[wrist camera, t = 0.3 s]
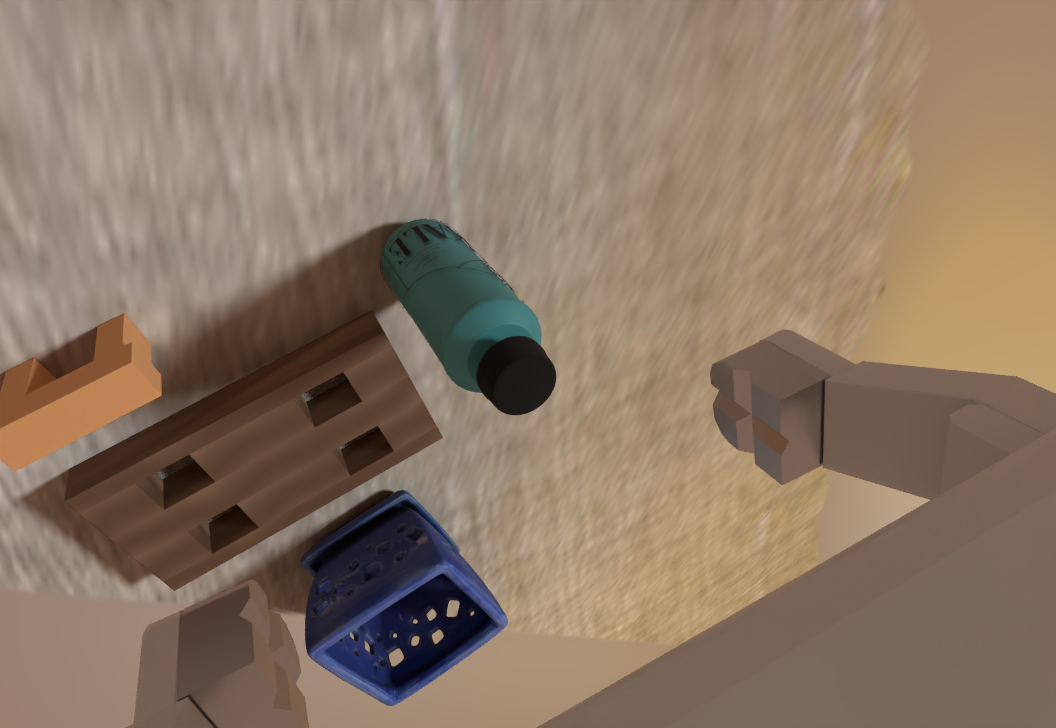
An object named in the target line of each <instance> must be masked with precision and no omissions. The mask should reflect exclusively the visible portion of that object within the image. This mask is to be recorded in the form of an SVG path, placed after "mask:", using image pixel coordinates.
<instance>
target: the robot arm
mask: <svg viewBox="0 0 1056 728" xmlns="http://www.w3.org/2000/svg"><path fill="white" fill-rule="evenodd" d="M710 376H711V384H712V385H713V386H714V387H716V388H717V389H718V390H719V392H718V394H717V396H716V398H715V401H714V403H713V409H714V416H715V420H716V423H717V425H718V427H719V429H720V431H721V433H722V434H723V436H724V437H725V438H726V439H727V441H728V442H729V443H730V444H732V445H733V446H734V447H735V448H736V449H737V450H740V451H745V452H750V453H754V457H755V464H756V465H757V466H759V467H760V468H761V469H762V470H764V471H765V472H766V473H767V474H769V475H770V476H771V477H772V478H774V479H775V480H776V481H777V482H779V483H780V484H781V485H784V484H786V483H788V482H790V481H792V480H794V479H796V478H798V477H800V476H802V475H804V474H806V473H808V472H810V471H812V470H814V469H816V468H818V467H820V466H822V465H823V468H826V469H830V470H833V471H836V472H840V473H843V474H846V475H850V476H853V477H856V478H860V479H863V480H866V481H870V482H873V483H876V484H880V485H883V486H887V487H890V488H893V489H897V490H900V491H903V492H906V493H910V494H913V495H916V496H920V497H923V498H926V499H930V501H928V502H927V503H925V504H923V505H922V506H920V507H918V508H916V509H915V510H913V511H911V512H910V513H908V514H906V515H904V516H902V517H901V518H899V519H897V520H896V521H894V522H892V523H890V524H888V525H887V526H885V527H883V528H882V529H880V530H878V531H876V532H875V533H873V534H871V535H870V536H868V537H866V538H864V539H863V540H861V541H859V542H857V543H856V544H854V545H852V546H851V547H849V548H847V549H845V550H843V551H842V552H840V553H839V554H837V555H835V556H833V557H831V558H830V559H828V560H826V561H824V562H823V563H821V564H819V565H817V566H816V567H814V568H812V569H811V570H809V571H807V572H805V573H804V574H802V575H800V576H798V577H797V578H795V579H793V580H792V581H790V582H788V583H786V584H785V585H783V586H781V587H779V588H778V589H776V590H774V591H773V592H771V593H769V594H767V595H766V596H764V597H762V598H760V599H759V600H757V601H755V602H753V603H752V604H750V605H748V606H747V607H745V608H743V609H741V610H740V611H738V612H736V613H734V614H733V615H731V616H729V617H728V618H726V619H724V620H722V621H721V622H719V623H717V624H715V625H714V626H712V627H710V628H708V629H707V630H705V631H703V632H702V633H700V634H698V635H696V636H695V637H693V638H691V639H689V640H688V641H686V642H684V643H682V644H681V645H679V646H677V647H676V648H674V649H672V650H671V651H669V652H667V653H665V654H663V655H662V656H660V657H658V658H656V659H655V660H653V661H651V662H650V663H648V664H646V665H644V666H643V667H641V668H639V669H637V670H636V671H634V672H632V673H631V674H629V675H627V676H625V677H624V678H622V679H620V680H618V681H617V682H615V683H613V684H611V685H610V686H608V687H606V688H604V689H603V690H601V691H599V692H598V693H596V694H594V695H592V696H591V697H589V698H587V699H585V700H584V701H582V702H580V703H579V704H577V705H575V706H573V707H572V708H570V709H568V710H566V711H565V712H563V713H561V714H560V715H558V716H556V717H554V718H552V719H551V720H549V721H547V722H545V723H544V724H542V725H540V726H539V727H537V728H1056V394H1055V393H1053V392H1050V391H1048V390H1046V389H1044V388H1042V387H1039V386H1037V385H1035V384H1032V383H1030V382H1028V381H1026V380H1023V379H1021V378H1019V377H1016V376H1005V375H996V374H986V373H976V372H966V371H956V370H945V369H936V368H925V367H916V366H906V365H895V364H885V363H875V362H866V361H862V362H860V363H858V364H854V363H852V362H850V361H848V360H846V359H844V358H843V357H841V356H839V355H837V354H835V353H833V352H831V351H829V350H827V349H825V348H824V347H822V346H820V345H818V344H816V343H814V342H812V341H810V340H808V339H806V338H804V337H803V336H801V335H799V334H797V333H795V332H793V331H791V330H781V331H779V332H777V333H775V334H773V335H771V336H769V337H766V338H764V339H762V340H760V341H759V342H758V343H756V344H754V345H751V346H749V347H747V348H745V349H743V350H741V351H739V352H737V353H735V354H732V355H730V356H728V357H726V358H724V359H722V360H720V361H718V362H716V363H714V364H713V365H712V368H711V371H710ZM300 673H301V669H300V664H299V657H298V654H297V651H296V647H295V644H294V641H293V638H292V636H291V634H290V632H289V630H288V628H287V626H286V624H285V622H284V621H283V620H282V618H281V616H280V614H278V613H274V612H270V611H268V603H267V595H266V593H265V592H264V591H263V589H262V588H261V587H260V585H259V584H258V582H257V581H255V580H252V579H250V580H248V581H246V582H244V583H241V584H239V585H237V586H234V587H232V588H230V589H228V590H225V591H223V592H221V593H219V594H216V595H214V596H212V597H210V598H207V599H205V600H203V601H201V602H198V603H196V604H194V605H191V606H189V607H187V608H185V609H184V610H182V611H179V612H177V613H175V614H172V615H170V616H168V617H166V618H164V619H161V620H159V621H157V622H155V623H152V624H150V625H149V626H148V627H147V628H146V630H145V632H144V633H143V637H142V647H141V656H140V666H139V676H138V687H137V695H136V705H135V715H134V724H132V725H130V726H128V727H126V728H309V723H308V716H307V709H306V702H305V697H304V696H303V694H302V693H301V691H300V690H299V688H298V687H297V685H296V682H297V680H298V678H299V676H300Z"/></svg>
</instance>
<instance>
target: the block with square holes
mask: <svg viewBox="0 0 1056 728" xmlns="http://www.w3.org/2000/svg"><path fill="white" fill-rule="evenodd" d="M342 372H344V374H345V375H346V377H347V378H348V380H347V381H345V382H343V383H341V384H339V385H338V386H336V387H334V388H332V389H330V390H328V391H327V392H325V393H323V394H321V395H319V396H317V397H315V398H314V399H312V400H310V401H308V402H306V401H305V400H304V399H303V397H302V396H301V394H303V393H305V392H307V391H309V390H311V389H313V388H314V387H316V386H318V385H320V384H322V383H324V382H326V381H327V380H329V379H331V378H333V377H335V376H337V375H339V374H340V373H342ZM376 426H378V427H379V428H380V429H378V430H376V431H374V432H373V433H371V434H369V435H367V436H365V437H364V438H362V439H360V440H358V441H356V442H355V443H353V444H351V445H349V446H347V447H346V448H344V449H342V450H340V448H339V447H340V446H342V445H344V444H346V443H347V442H349V441H351V440H353V439H355V438H356V437H358V436H360V435H362V434H364V433H365V432H367V431H369V430H371V429H372V428H374V427H376ZM442 438H443V437H442V435H441V433H440V432H439V430H438V428H437V426H436V424H435V423H434V421H433V419H432V417H431V415H430V414H429V412H428V410H427V408H426V406H425V405H424V403H423V401H422V399H421V397H420V396H419V394H418V392H417V390H416V388H415V387H414V385H413V383H412V381H411V379H410V378H409V376H408V374H407V372H406V370H405V369H404V367H403V365H402V363H401V361H400V360H399V358H398V356H397V354H396V352H395V351H394V349H393V347H392V345H391V343H390V342H389V340H388V338H387V336H386V334H385V333H384V331H383V329H382V327H381V326H380V324H379V322H378V320H377V319H376V317H375V315H374V314H373V312H372V311H370V312H369V313H367V314H365V315H363V316H361V317H359V318H357V319H355V320H353V321H351V322H349V323H348V324H346V325H344V326H342V327H340V328H338V329H336V330H334V331H332V332H330V333H328V334H327V335H325V336H323V337H321V338H319V339H317V340H315V341H313V342H311V343H309V344H307V345H306V346H304V347H302V348H300V349H298V350H296V351H294V352H292V353H290V354H288V355H286V356H285V357H283V358H281V359H279V360H277V361H275V362H273V363H271V364H269V365H267V366H265V367H264V368H262V369H260V370H258V371H256V372H254V373H252V374H250V375H248V376H246V377H244V378H242V379H241V380H239V381H237V382H235V383H233V384H231V385H229V386H227V387H225V388H223V389H221V390H220V391H218V392H216V393H214V394H212V395H210V396H208V397H206V398H204V399H202V400H200V401H199V402H197V403H195V404H193V405H191V406H189V407H187V408H185V409H183V410H181V411H179V412H178V413H176V414H174V415H172V416H170V417H168V418H166V419H164V420H162V421H160V422H158V423H157V424H155V425H153V426H151V427H149V428H147V429H145V430H143V431H141V432H139V433H137V434H136V435H134V436H132V437H130V438H128V439H126V440H124V441H122V442H120V443H118V444H116V445H115V446H113V447H111V448H109V449H107V450H105V451H103V452H101V453H99V454H97V455H95V456H94V457H92V458H90V459H88V460H86V461H84V462H82V463H80V464H78V465H76V466H74V467H72V468H71V469H69V472H68V479H67V487H66V494H65V501H64V502H65V503H67V504H68V505H69V506H70V507H72V508H73V509H74V510H75V511H77V512H78V513H79V514H80V515H81V516H83V517H84V518H85V519H86V520H88V521H89V522H90V523H91V524H93V525H94V526H95V527H96V528H97V529H99V530H100V531H101V532H102V533H104V534H105V535H106V536H107V537H109V538H110V539H111V540H112V541H114V542H115V543H116V544H117V545H118V546H120V547H121V548H122V549H123V550H125V551H126V552H127V553H128V554H130V555H131V556H132V557H133V558H134V559H136V560H137V561H138V562H139V563H141V564H142V565H143V566H144V567H146V568H147V569H148V570H149V571H151V572H152V573H153V574H154V575H155V576H157V577H158V578H159V579H160V580H162V581H163V582H164V583H165V584H167V585H168V586H169V587H170V588H171V589H173V590H174V591H175V590H177V589H179V588H180V587H182V586H184V585H186V584H187V583H189V582H191V581H193V580H194V579H196V578H198V577H200V576H201V575H203V574H205V573H207V572H208V571H210V570H212V569H214V568H215V567H217V566H219V565H221V564H223V563H224V562H226V561H228V560H230V559H231V558H233V557H235V556H237V555H238V554H240V553H242V552H244V551H245V550H247V549H249V548H251V547H252V546H254V545H256V544H258V543H259V542H261V541H263V540H265V539H266V538H268V537H270V536H272V535H273V534H275V533H277V532H279V531H280V530H282V529H284V528H286V527H287V526H289V525H291V524H293V523H294V522H296V521H298V520H300V519H301V518H303V517H305V516H307V515H308V514H310V513H312V512H314V511H315V510H317V509H319V508H321V507H322V506H324V505H326V504H328V503H329V502H331V501H333V500H335V499H336V498H338V497H340V496H342V495H343V494H345V493H347V492H349V491H350V490H352V489H354V488H356V487H357V486H359V485H361V484H363V483H364V482H366V481H368V480H370V479H371V478H373V477H375V476H377V475H378V474H380V473H382V472H384V471H385V470H387V469H389V468H391V467H393V466H394V465H396V464H398V463H400V462H401V461H403V460H405V459H407V458H408V457H410V456H412V455H414V454H415V453H417V452H419V451H421V450H422V449H424V448H426V447H428V446H429V445H431V444H433V443H435V442H436V441H438V440H440V439H442ZM188 455H190V456H191V457H192V458H193V459H194V460H195V461H196V462H195V463H193V464H191V465H189V466H187V467H186V468H184V469H182V470H180V471H178V472H176V473H174V474H173V475H171V476H169V477H167V478H165V479H162V478H161V477H160V476H158V475H157V474H156V472H158V471H160V470H162V469H163V468H165V467H167V466H169V465H171V464H173V463H175V462H176V461H178V460H180V459H182V458H184V457H186V456H188ZM236 504H237V505H238V506H239V507H238V508H236V509H234V510H233V511H231V512H229V513H227V514H226V515H224V516H222V517H220V518H218V519H217V520H215V521H213V522H211V523H209V524H208V523H207V522H206V521H207V520H209V519H211V518H213V517H214V516H216V515H218V514H220V513H222V512H223V511H225V510H227V509H229V508H231V507H232V506H234V505H236Z"/></svg>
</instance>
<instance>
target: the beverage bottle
mask: <svg viewBox="0 0 1056 728" xmlns="http://www.w3.org/2000/svg"><path fill="white" fill-rule="evenodd" d="M438 221H439V220H438ZM438 221H434V219H432V220H427V219H420V220H414V221H411V222H408V223H406V224H404V225H402V226H401V227H399V228H398V229H397V230H395V231H394V232H393V233H392V234H391V236H390V237H389V238H388V240H387V242H386V244H385V246H384V249H383V251H382V255H381V256H382V262H381V261H380V268H381V264H382V273H383V275H384V277H385V279H386V281H387V283H388V284H389V287H391V289H392V290H393V292H394V293H395V295H396V296H397V297H398V299H399V300H400V302H401V303H402V305H403V306H404V308H405V309H406V311H407V312H408V314H409V315H410V316H411V317H412V319H413V320H414V322H415V323H416V325H417V326H418V328H419V329H420V331H421V332H422V334H423V335H424V337H425V339H426V340H427V342H428V343H429V345H430V346H431V348H432V349H433V351H434V352H435V354H436V355H437V357H438V358H439V360H440V361H441V363H442V365H443V366H444V369H445V371H446V373H447V374H448V376H449V377H450V378H451V380H452V381H453V382H454V383H455V384H457V385H458V386H460V387H461V388H464V389H466V390H469V391H472V392H479V393H483V394H484V396H485V397H486V398H487V399H488V400H490V401H491V402H492V403H493V405H494V406H495V407H496V408H497V409H498V410H500V411H501V412H503V413H505V414H509V415H522V414H526V413H529V412H531V411H533V410H535V409H536V408H538V407H539V406H541V405H542V404H543V403H544V402H545V401H546V400H547V399H548V397H549V396H550V395H551V393H552V391H553V389H554V386H555V383H556V371H555V368H554V365H553V363H552V362H551V360H550V359H549V358H548V356H547V355H546V353H545V351H544V349H543V348H542V347H541V346H540V345H541V328H540V324H539V321H538V319H537V317H536V315H535V314H534V312H533V311H532V310H531V309H530V308H529V307H528V306H527V305H525V304H524V303H523V302H521V301H520V300H519V299H518V297H517V296H516V295H515V294H514V293H515V292H514V291H513V289H512V288H511V287H510V289H511V290H512V291H513V292H514V293H513V292H512V291H511V290H510V289H509V288H508V287H507V286H506V285H507V284H504V283H503V280H504V279H503V278H502V277H501V276H500V275H498V273H495V272H493V271H494V270H493V271H492V270H491V269H492V267H489V265H486V264H488V263H487V262H486V261H482V260H481V259H480V258H479V257H478V256H477V255H476V254H475V253H476V252H475V251H474V250H473V249H471V248H472V247H471V248H469V247H470V245H469V244H468V245H469V246H467V244H465V243H464V242H463V241H464V240H463V241H462V240H461V238H462V237H461V236H459V235H460V234H459V233H458V234H459V235H458V234H457V233H455V232H454V231H453V230H452V229H450V227H448V226H446V225H445V224H444V223H441V222H442V221H441V222H438ZM451 228H452V227H451ZM473 251H474V252H475V253H474V252H473ZM483 260H484V259H483ZM484 262H486V264H485V263H484ZM382 273H381V274H382ZM496 274H497V275H498V276H499V277H500V278H502V279H503V280H501V279H500V278H499V277H498V276H497V275H496ZM383 279H384V278H383ZM386 281H385V282H386ZM504 282H505V280H504ZM505 283H506V282H505ZM388 284H387V285H388ZM508 286H510V285H509V284H508ZM392 290H391V291H392ZM402 308H403V307H402Z"/></svg>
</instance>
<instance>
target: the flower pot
mask: <svg viewBox="0 0 1056 728" xmlns="http://www.w3.org/2000/svg"><path fill="white" fill-rule="evenodd" d="M459 552H460V549H459V547H458V546H457V545H456V544H455V542H454V541H453V540H452V539H451V538H450V536H449V535H448V534H447V533H446V532H445V531H444V529H443V528H442V527H441V526H440V525H439V524H438V523H437V522H436V521H435V520H434V518H433V517H432V516H431V515H430V514H429V513H428V512H427V511H426V510H425V509H424V508H423V507H422V506H421V505H420V504H419V503H418V502H417V501H416V500H415V499H414V498H413V497H412V496H411V495H410V494H409V493H408V492H406V491H404V490H400V491H397V492H395V493H393V494H392V495H390V496H388V497H387V498H385V499H384V500H382V501H381V502H379V503H378V504H376V505H374V506H373V507H371V508H370V509H368V510H367V511H365V512H364V513H362V514H361V515H359V516H358V517H356V518H355V519H353V520H352V521H350V522H349V523H347V524H346V525H344V526H343V527H341V528H340V529H338V530H337V531H335V532H334V533H332V534H331V535H329V536H328V537H326V538H325V539H324V540H322V541H321V542H319V543H318V544H316V545H315V546H314V547H312V548H311V549H310V550H309V551H308V552H307V553H306V554H305V555H304V556H303V557H302V559H301V566H302V567H303V568H304V569H305V570H306V571H307V572H309V573H310V574H311V575H312V576H314V577H315V578H314V581H313V583H312V586H311V589H310V593H309V597H308V602H307V608H306V618H305V641H306V649H307V653H308V655H309V656H310V658H311V659H312V660H314V661H315V662H316V663H318V664H319V665H321V666H322V667H323V668H325V669H326V670H328V671H329V672H331V673H333V674H334V675H336V676H337V677H339V678H340V679H342V680H344V681H346V682H347V683H349V684H351V685H353V686H355V687H356V688H358V689H360V690H362V691H363V692H365V693H367V694H368V695H370V696H372V697H374V698H375V699H377V700H378V701H380V702H382V703H384V704H386V705H388V706H393V705H396V704H398V703H400V702H401V701H403V700H404V699H406V698H407V697H409V696H411V695H412V694H414V693H415V692H417V691H418V690H420V689H421V688H423V687H424V686H426V685H427V684H429V683H430V682H432V681H433V680H435V679H436V678H437V677H439V676H440V675H442V674H443V673H445V672H446V671H448V670H449V669H450V668H452V667H453V666H455V665H456V664H458V663H459V662H460V661H462V660H463V659H464V658H466V657H467V656H469V655H470V654H472V653H473V652H474V651H476V650H477V649H478V648H480V647H481V646H482V645H484V644H485V643H487V642H488V641H489V640H490V639H491V638H493V637H494V636H495V635H496V634H498V633H499V632H500V631H502V630H503V629H504V628H505V627H506V626H507V624H508V620H507V617H506V615H505V613H504V612H503V610H502V608H501V607H500V605H499V603H498V602H497V600H496V599H495V597H494V596H493V594H492V593H491V592H490V590H489V589H488V588H487V586H486V585H485V584H484V582H483V581H482V580H481V578H480V577H479V576H478V575H477V573H476V572H475V571H474V570H473V569H472V567H471V566H470V565H469V564H468V563H467V562H466V561H465V559H464V558H463V557H462V556H461V555H460V554H459ZM450 600H457V601H459V602H460V605H459V610H458V614H457V616H456V617H447V608H448V603H449V601H450ZM323 606H324V609H323ZM431 609H434V610H435V611H436V613H437V615H436V617H435V618H434V619H433V620H431V621H429V619H428V618H427V613H428V612H429V611H430V610H431ZM473 611H474V615H472V616H471V615H470V614H471V612H473ZM414 619H416V620H418V623H417V624H414V623H413V620H414ZM439 629H440V630H441V631H442V632H443V635H444V637H443V638H442V639H441V640H440V641H439V642H438V643H437V644H434V642H433V639H432V634H433V633H434V632H436V631H437V630H439ZM351 632H352V634H353V635H354V640H353V639H352V638H351V637H350V633H351ZM394 633H396V634H397V637H396V638H393V634H394ZM414 636H419V637H420V639H419V643H418V645H416V646H412V645H411V640H412V638H413V637H414ZM365 641H366V642H367V643H368V644H369V646H370V653H369V652H368V651H367V650H366V649H365V643H364V642H365ZM398 648H400V650H401V651H402V653H403V655H404V659H403V660H402V661H401V662H400V663H399V664H398V665H396V666H394V667H392V666H391V663H390V660H389V654H390V653H391V652H393V651H394V650H396V649H398Z"/></svg>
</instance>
